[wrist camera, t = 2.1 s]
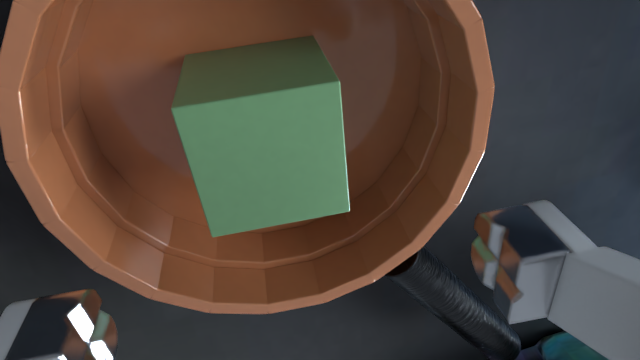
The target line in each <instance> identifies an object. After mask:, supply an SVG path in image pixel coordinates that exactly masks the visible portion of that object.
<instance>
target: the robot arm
mask: <svg viewBox="0 0 640 360" xmlns="http://www.w3.org/2000/svg"><path fill="white" fill-rule="evenodd" d="M474 229H475V230H476V232H477V233H478V234H479V235H478V236H477V238H476V239H475V240H474V241H473V242H472V248H471V257H472V262H473V267H474V269H475V272H476V274H477V276H478V278H479V279H480V281H481V282H482V284H483V285H485V286H487V287H489V288H491V289H493V290H494V294H493V301H494V303H495V304H496V306H497V307H498V309H499V310H500V312H501V313H502V315H503V316H504V318H505V320H506V321H507V323H508V324H514V323H519V322H525V321H530V320H535V319H541V318H546V317H548V320H549V321H551V322H553V323H554V324H556V325H557V326H559V327H560V328H562V329H563V330H565V331H566V332H568V333H569V334H571V335H572V336H574V337H575V338H577V339H578V340H580V341H581V342H583V343H584V344H586V345H587V346H589V347H591V348H592V349H594V350H595V351H597V352H598V353H600V354H601V355H603V356H604V357H606V358H607V359H609V360H640V259H637V258H634V257H632V256H629V255H627V254H624V253H622V252H619V251H616V250H614V249H611V248H609V247H606V246H604V247H597V246H596V245H595V244H594V243H593V242H592V241H591V240H590V239H589V238H588V237H587V236H586V235H585V234H584V233H583V232H582V231H581V230H580V229H578V228H577V227H576V226H575V225H574V224H573V223H572V222H571V221H570V220H569V219H568V218H567V217H566V216H565V215H564V214H563V213H562V212H561V211H560V210H559V209H557V208H556V207H555V206H554V205H553V204H552V203H551V202H550V201H547V200H540V201H535V202H530V203H525V204H522V205H517V206H512V207H507V208H502V209H497V210H492V211H487V212H482V213H478V214H477V216H476V218H475V223H474ZM101 303H102V300H101V298H100V297H99V295H98V294H97V292H96V291H95V290H93V289H85V290H79V291H73V292H68V293H62V294H56V295H50V296H44V297H39V298H36V299H30V300H24V301H18V302H13V303H12V304H10V305H9V306H7V307H6V308H5V310H4V312H3V313H2V315H1V317H0V360H115V357H116V353H117V348H118V334H117V330H116V326H115V323H114V321H113V319H112V317H111V315H109V314H107V313H105V312H103V311H101V310H99V309H100V306H101Z"/></svg>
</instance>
